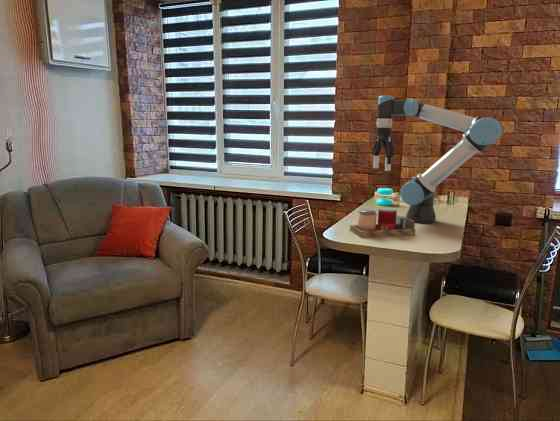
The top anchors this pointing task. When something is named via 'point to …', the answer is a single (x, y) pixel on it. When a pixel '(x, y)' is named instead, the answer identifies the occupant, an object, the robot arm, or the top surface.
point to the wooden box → (373, 233)
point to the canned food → (387, 218)
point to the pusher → (400, 222)
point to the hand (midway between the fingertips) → (381, 169)
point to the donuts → (383, 200)
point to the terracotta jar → (367, 220)
